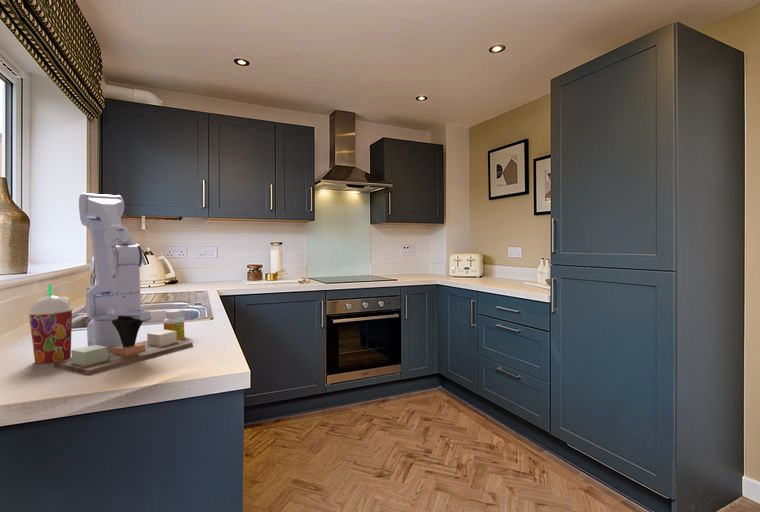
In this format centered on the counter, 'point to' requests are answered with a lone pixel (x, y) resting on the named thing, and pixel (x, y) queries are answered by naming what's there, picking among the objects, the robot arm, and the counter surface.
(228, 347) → the counter surface
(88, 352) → the key sage
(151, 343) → the key cream
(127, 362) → the brown rectangular tray
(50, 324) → the smoothie
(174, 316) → the supplement bottle
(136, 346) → the key terracotta
